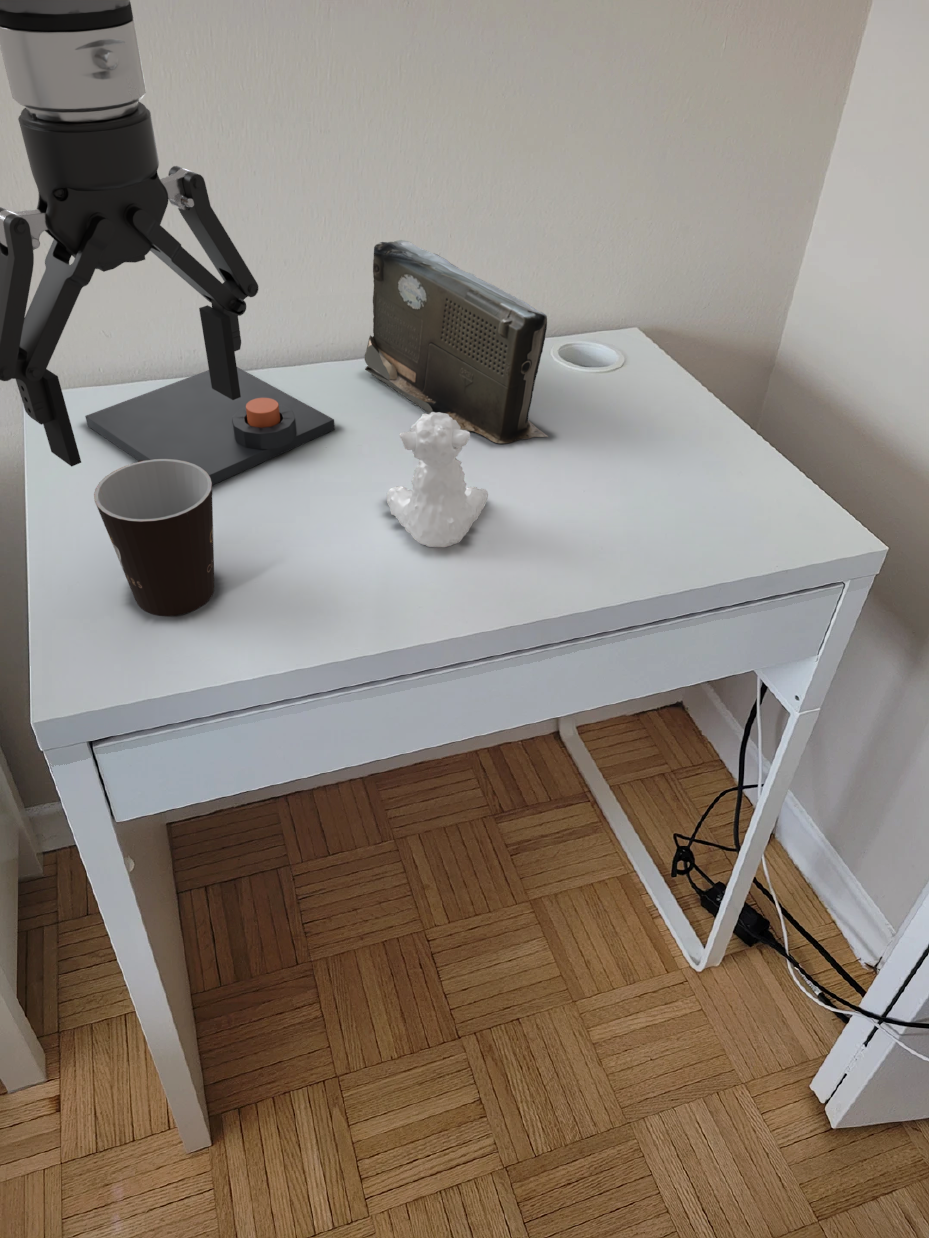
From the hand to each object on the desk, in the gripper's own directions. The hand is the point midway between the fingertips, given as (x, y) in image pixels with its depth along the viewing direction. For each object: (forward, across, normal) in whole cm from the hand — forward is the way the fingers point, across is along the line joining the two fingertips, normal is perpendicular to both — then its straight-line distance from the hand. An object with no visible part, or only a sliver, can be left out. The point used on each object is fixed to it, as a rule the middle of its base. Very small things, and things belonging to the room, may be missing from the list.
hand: (150, 423), depth 70 cm
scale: (+15, +17, +19) cm, 29 cm away
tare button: (+12, +19, +13) cm, 26 cm away
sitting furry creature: (+15, +21, -10) cm, 27 cm away
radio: (+15, +40, +6) cm, 43 cm away
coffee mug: (+15, 0, 0) cm, 15 cm away
